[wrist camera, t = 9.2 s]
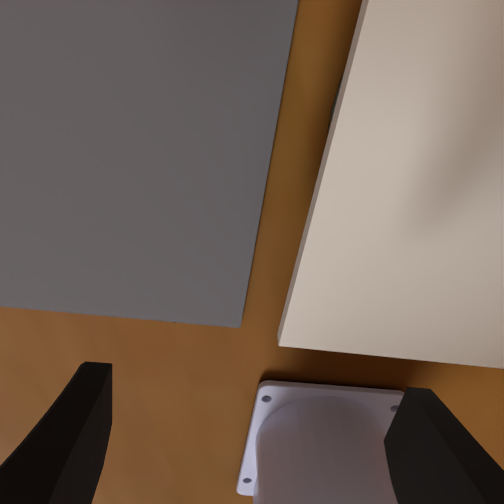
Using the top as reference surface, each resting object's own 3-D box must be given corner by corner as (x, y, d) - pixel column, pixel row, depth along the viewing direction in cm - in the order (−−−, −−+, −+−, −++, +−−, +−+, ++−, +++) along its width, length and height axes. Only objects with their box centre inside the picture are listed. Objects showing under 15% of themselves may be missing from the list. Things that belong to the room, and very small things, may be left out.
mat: (240, 321, 23) (240, 327, 23) (-143, 285, 21) (-151, 292, 21) (317, -119, 14) (319, -121, 14) (-317, -243, 13) (-336, -251, 12)
